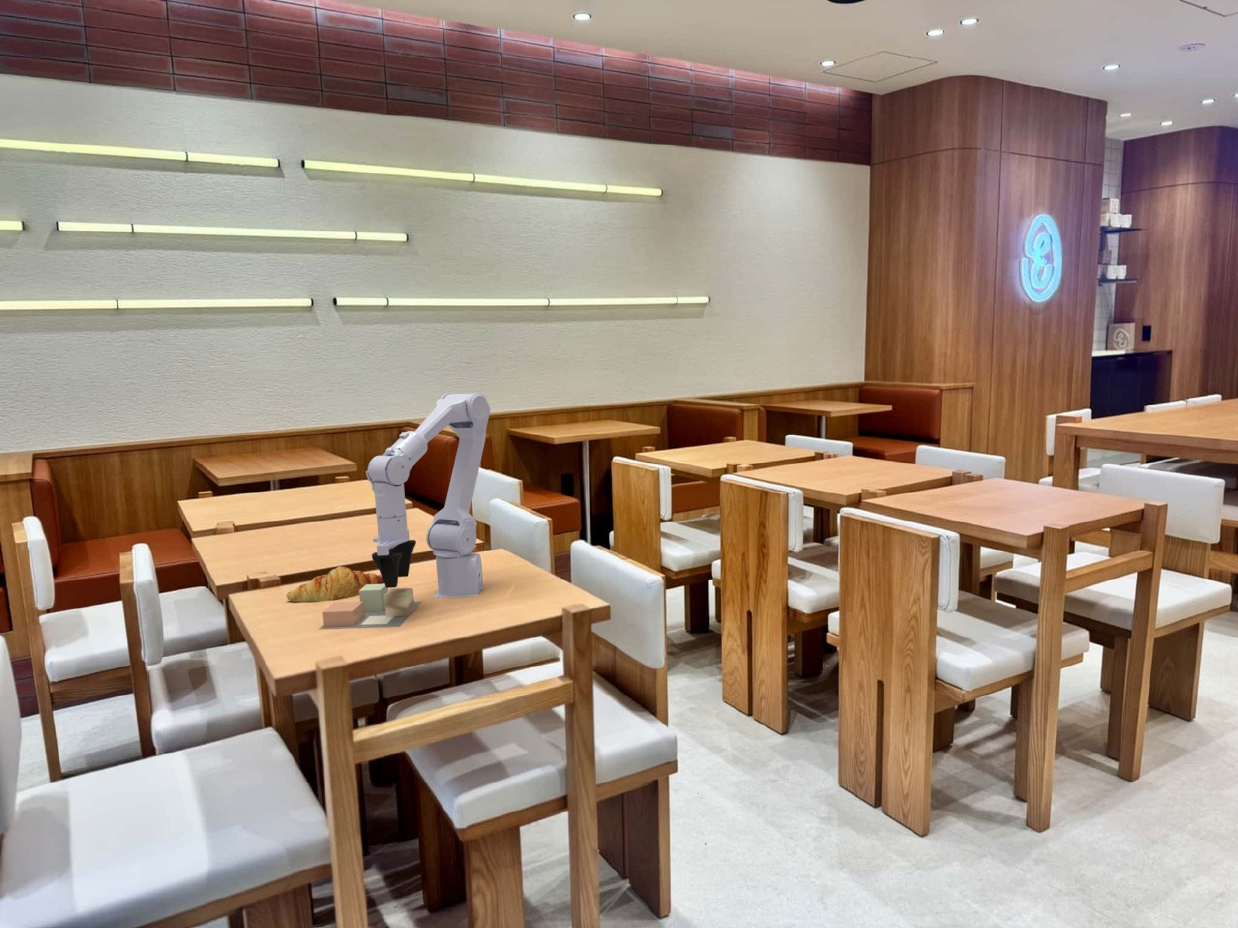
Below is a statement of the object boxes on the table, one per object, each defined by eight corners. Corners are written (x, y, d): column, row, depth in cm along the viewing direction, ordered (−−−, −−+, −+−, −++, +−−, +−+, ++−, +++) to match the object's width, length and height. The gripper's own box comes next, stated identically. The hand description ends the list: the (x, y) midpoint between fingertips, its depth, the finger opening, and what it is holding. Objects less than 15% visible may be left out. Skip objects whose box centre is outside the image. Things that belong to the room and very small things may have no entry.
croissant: (290, 623, 180) (288, 596, 175) (284, 592, 187) (281, 565, 182) (390, 603, 189) (390, 577, 184) (380, 574, 196) (380, 548, 192)
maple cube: (414, 609, 172) (412, 587, 171) (408, 615, 167) (406, 594, 167) (392, 609, 172) (391, 588, 171) (385, 616, 167) (383, 594, 167)
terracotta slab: (364, 615, 169) (363, 601, 168) (354, 625, 163) (352, 610, 163) (335, 616, 169) (334, 602, 169) (323, 626, 163) (322, 611, 163)
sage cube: (389, 604, 176) (387, 583, 175) (382, 611, 172) (380, 589, 171) (368, 605, 176) (366, 584, 176) (360, 611, 172) (358, 590, 171)
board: (422, 603, 177) (422, 601, 177) (400, 629, 161) (399, 626, 161) (348, 606, 178) (348, 603, 178) (318, 631, 162) (318, 629, 162)
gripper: (383, 509, 174) (389, 572, 176) (359, 523, 160) (365, 592, 162) (416, 508, 174) (422, 571, 176) (395, 522, 159) (401, 591, 161)
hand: (397, 581), depth 169 cm, fingers open, 7 cm apart
